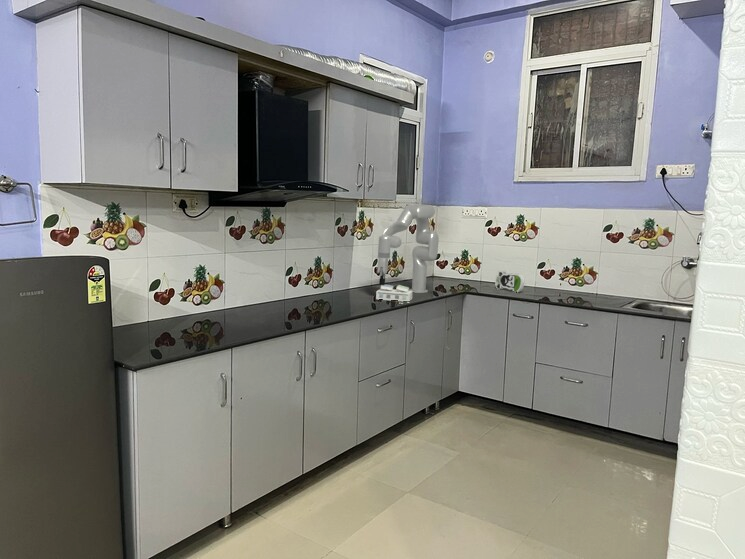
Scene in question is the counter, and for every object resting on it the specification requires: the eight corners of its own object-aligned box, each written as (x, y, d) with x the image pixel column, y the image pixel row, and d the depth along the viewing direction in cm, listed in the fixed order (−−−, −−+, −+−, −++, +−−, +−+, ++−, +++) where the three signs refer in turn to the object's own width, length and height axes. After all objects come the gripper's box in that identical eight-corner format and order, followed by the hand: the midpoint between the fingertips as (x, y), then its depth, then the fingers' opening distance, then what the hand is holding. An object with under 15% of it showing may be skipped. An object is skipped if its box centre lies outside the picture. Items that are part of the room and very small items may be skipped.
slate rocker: (382, 287, 354) (382, 283, 354) (393, 288, 353) (393, 285, 353) (380, 288, 348) (381, 285, 348) (391, 290, 347) (391, 287, 347)
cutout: (495, 270, 413) (522, 272, 393) (497, 270, 415) (524, 272, 394) (494, 290, 414) (521, 293, 394) (497, 290, 416) (524, 293, 396)
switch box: (379, 296, 359) (380, 287, 358) (412, 298, 355) (412, 289, 354) (375, 299, 346) (376, 290, 345) (409, 302, 342) (409, 292, 341)
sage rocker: (397, 287, 352) (398, 284, 352) (408, 290, 351) (409, 287, 351) (396, 289, 346) (397, 286, 346) (407, 291, 345) (407, 288, 345)
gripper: (380, 254, 357) (378, 282, 359) (375, 256, 342) (373, 285, 344) (391, 255, 355) (389, 283, 357) (387, 257, 340) (385, 286, 342)
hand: (382, 284), depth 351 cm, fingers closed
